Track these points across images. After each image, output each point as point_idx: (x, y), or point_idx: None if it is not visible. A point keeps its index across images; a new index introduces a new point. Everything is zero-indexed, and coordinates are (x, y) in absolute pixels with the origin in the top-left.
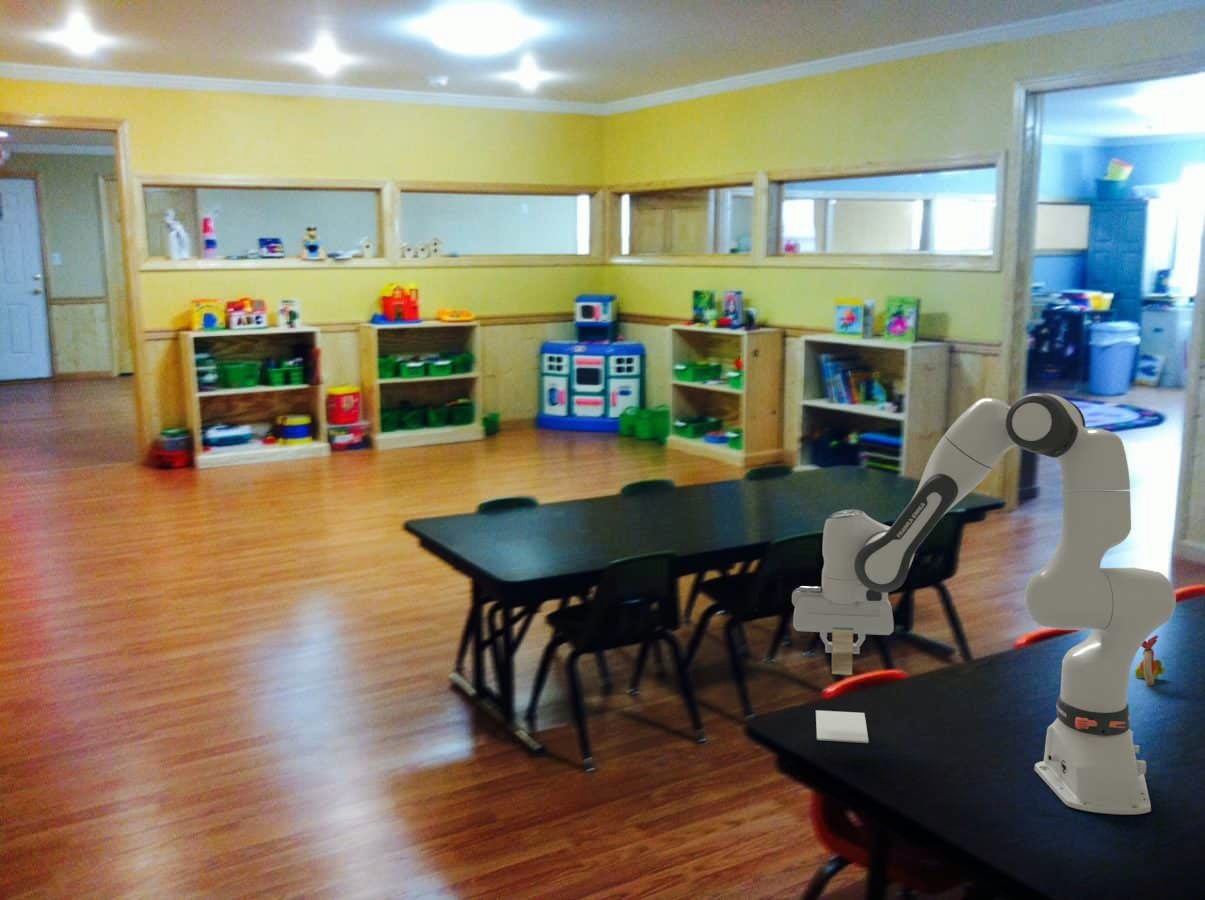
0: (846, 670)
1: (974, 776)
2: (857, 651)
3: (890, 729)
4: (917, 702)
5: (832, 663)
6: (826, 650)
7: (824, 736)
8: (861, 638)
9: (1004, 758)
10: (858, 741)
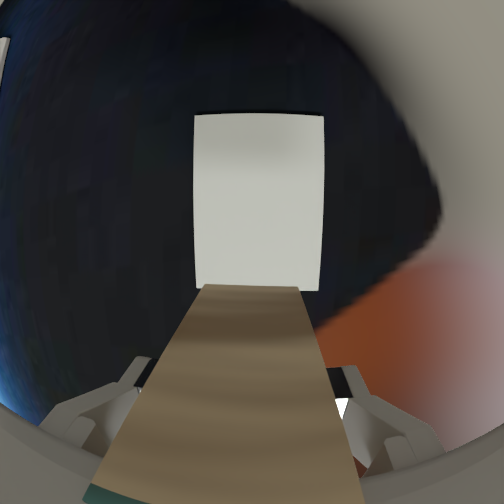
0: (228, 291)
1: (54, 54)
2: (144, 363)
3: (140, 207)
4: (103, 350)
5: (304, 308)
6: (351, 369)
7: (304, 127)
8: (77, 414)
9: (9, 133)
10: (219, 114)
